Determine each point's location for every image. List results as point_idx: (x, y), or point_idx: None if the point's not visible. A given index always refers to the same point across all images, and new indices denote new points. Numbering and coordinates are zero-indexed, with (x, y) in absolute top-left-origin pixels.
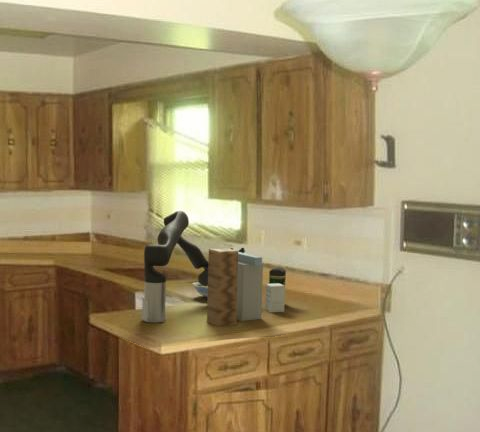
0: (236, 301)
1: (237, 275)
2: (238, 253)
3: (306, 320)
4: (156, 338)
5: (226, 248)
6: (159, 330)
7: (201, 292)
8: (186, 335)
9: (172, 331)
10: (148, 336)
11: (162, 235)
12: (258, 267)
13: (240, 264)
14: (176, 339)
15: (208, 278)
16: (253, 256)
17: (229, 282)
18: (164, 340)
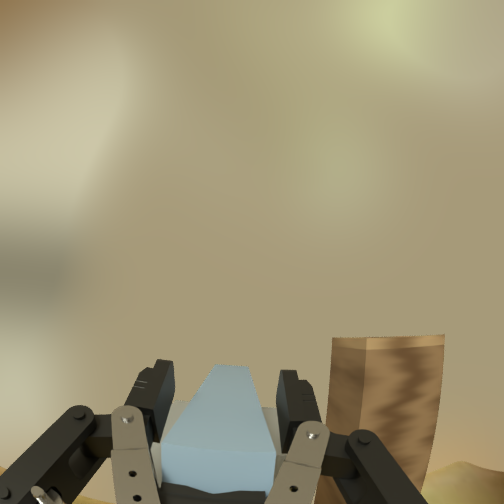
0: (316, 496)
1: (326, 422)
2: (250, 395)
3: (86, 500)
4: (479, 470)
5: (369, 338)
6: (494, 496)
7: None
8: (435, 487)
9: (467, 498)
10: (495, 472)
11: None
12: None
13: None
14: (447, 472)
15: (428, 452)
16: (234, 370)
17: None
18: (464, 467)
